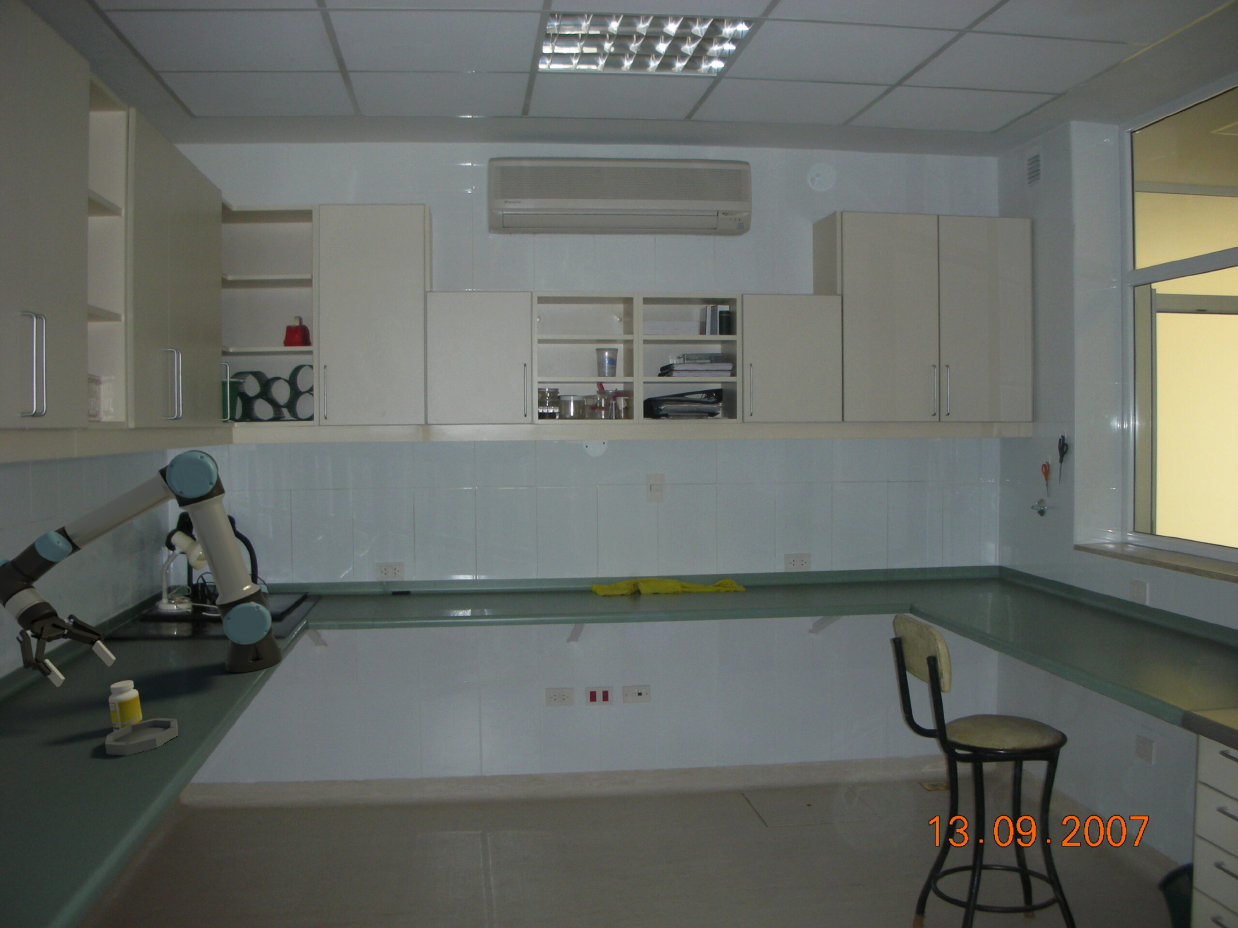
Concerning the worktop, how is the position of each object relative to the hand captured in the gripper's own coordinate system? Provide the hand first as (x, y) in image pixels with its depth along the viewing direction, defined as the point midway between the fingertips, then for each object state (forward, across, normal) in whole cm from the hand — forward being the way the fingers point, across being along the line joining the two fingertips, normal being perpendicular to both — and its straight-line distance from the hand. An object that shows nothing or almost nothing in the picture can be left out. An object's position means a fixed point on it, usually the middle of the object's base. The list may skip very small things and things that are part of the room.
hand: (87, 672), depth 197 cm
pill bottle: (+17, 0, -3) cm, 17 cm away
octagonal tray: (+24, +6, +5) cm, 26 cm away
